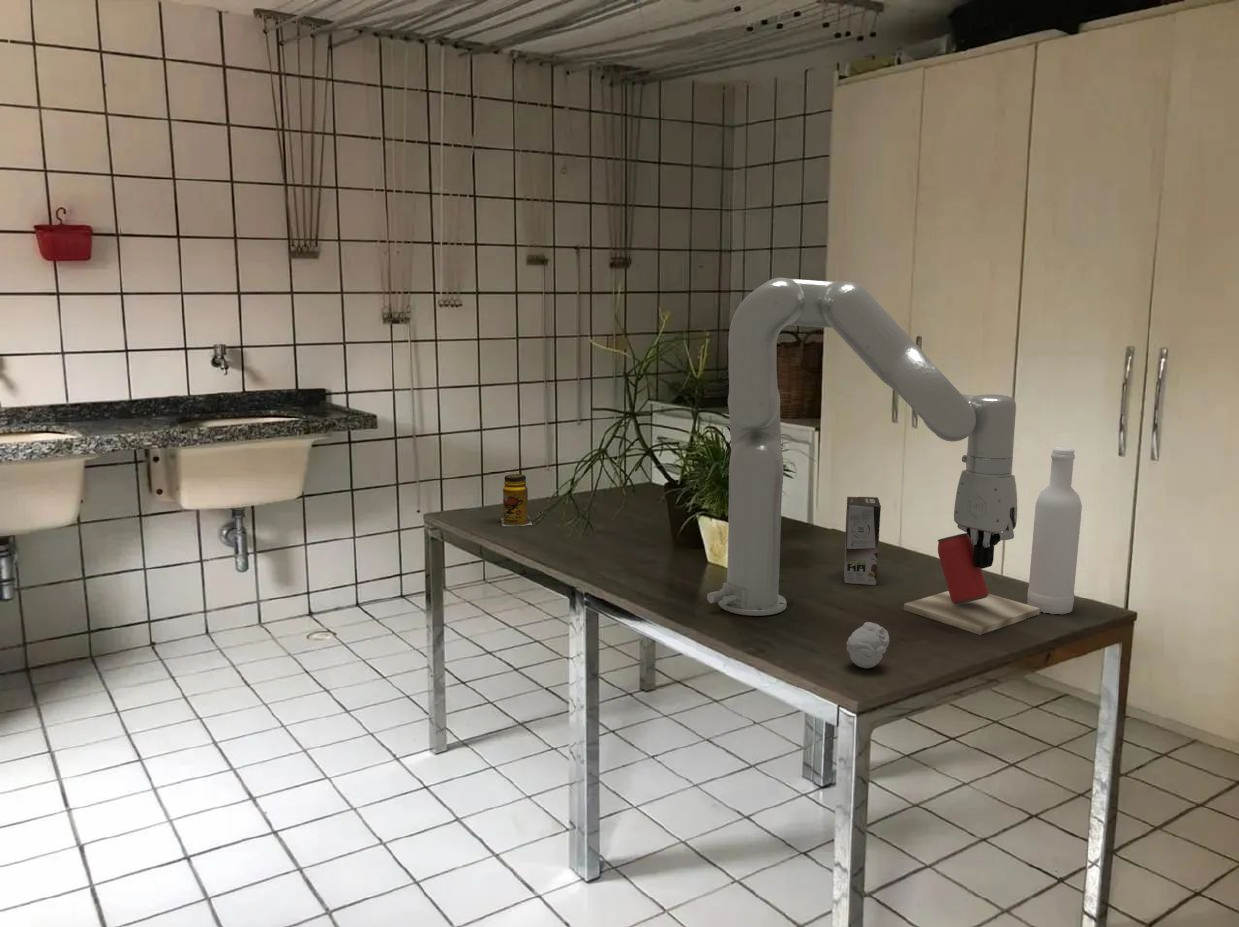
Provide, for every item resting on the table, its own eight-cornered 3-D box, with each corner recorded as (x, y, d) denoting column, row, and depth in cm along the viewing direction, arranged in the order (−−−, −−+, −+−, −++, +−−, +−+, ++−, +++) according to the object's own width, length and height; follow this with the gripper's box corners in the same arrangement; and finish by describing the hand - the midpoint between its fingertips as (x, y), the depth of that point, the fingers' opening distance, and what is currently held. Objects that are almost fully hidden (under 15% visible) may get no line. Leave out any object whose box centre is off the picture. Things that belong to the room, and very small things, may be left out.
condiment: (502, 527, 243) (501, 478, 241) (500, 518, 252) (499, 472, 249) (532, 525, 245) (532, 477, 242) (529, 517, 253) (528, 471, 251)
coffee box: (877, 585, 198) (881, 506, 195) (844, 583, 199) (847, 504, 196) (875, 572, 207) (879, 496, 204) (843, 570, 208) (846, 495, 205)
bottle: (1028, 598, 190) (1041, 443, 185) (1073, 604, 187) (1088, 446, 181) (1025, 611, 183) (1038, 449, 178) (1072, 617, 180) (1087, 453, 174)
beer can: (969, 602, 177) (950, 535, 179) (944, 606, 183) (927, 542, 185) (997, 595, 179) (978, 530, 181) (972, 599, 185) (955, 536, 187)
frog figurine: (896, 669, 156) (899, 626, 155) (863, 677, 152) (865, 634, 151) (869, 656, 161) (871, 614, 160) (835, 664, 158) (838, 622, 156)
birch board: (980, 634, 171) (980, 628, 171) (903, 609, 184) (904, 603, 183) (1039, 614, 181) (1039, 608, 181) (963, 592, 194) (963, 586, 194)
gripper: (939, 461, 179) (934, 560, 182) (1015, 474, 167) (1008, 580, 170) (965, 457, 183) (960, 554, 187) (1040, 469, 171) (1033, 572, 175)
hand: (982, 566), depth 178 cm, fingers closed
